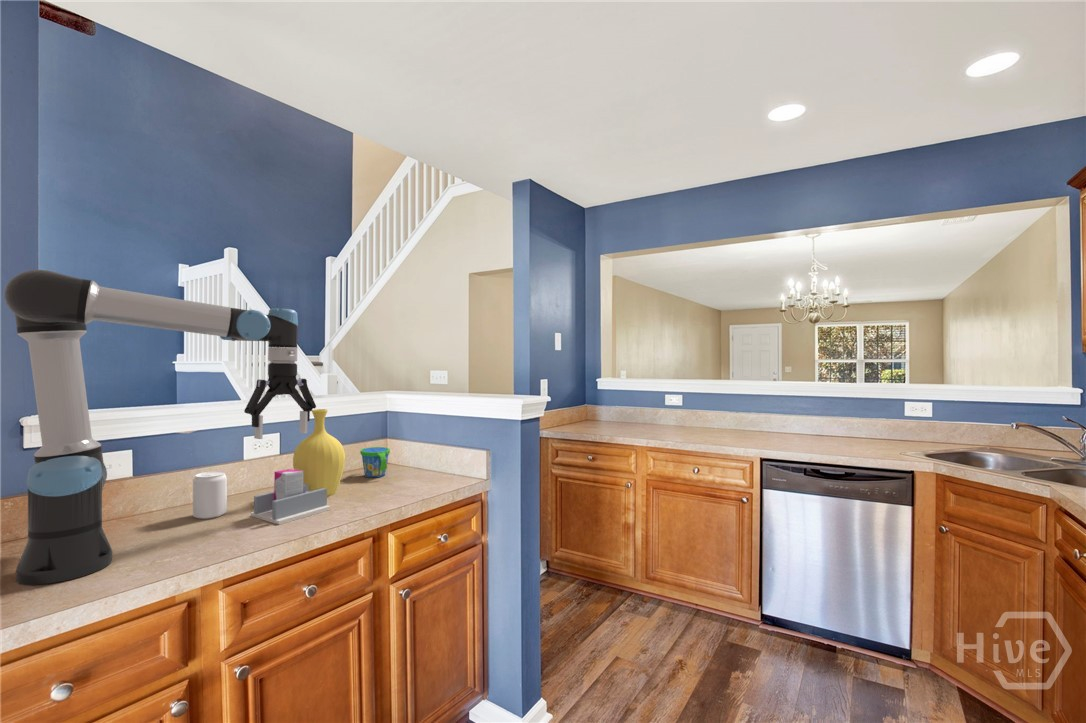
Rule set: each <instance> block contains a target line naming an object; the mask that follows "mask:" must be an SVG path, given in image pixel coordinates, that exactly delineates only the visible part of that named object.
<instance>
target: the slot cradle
mask: <svg viewBox="0 0 1086 723" xmlns="http://www.w3.org/2000/svg"><path fill="white" fill-rule="evenodd" d="M327 498H328V496H327V489H325V488H322V489H318V490H314V491H308V484H303V493H302V494H298V495H294V496H290V497H286V498H282V499H279V500H275V501H274V490H273V491H270V492H269V491H268V492H266V493H261V494H257V495H254V496H253V511H251V512H250V517H253V518H257V519H259V520H262V521H266V522H269V523H272V524H275V525H279V526H280V525H283V524H287V523H289V522H293V521H296V520H300V519H304V518H306V517H309V516H314V515H318V514H320V513H324V512H327V511H329V510H331V506H330V505H328V504H327V503H328V501H327V500H328V499H327Z"/></svg>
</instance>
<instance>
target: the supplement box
mask: <svg viewBox="0 0 1086 723" xmlns="http://www.w3.org/2000/svg"><path fill="white" fill-rule="evenodd" d="M273 476H274V478H273V479H274V483H273V485H274V488H273V489H274V490H273V491H274V501H275V500H279V499H282V498H286V497H290V496H294V495H298V494H302V493H303V471H301V470H296V469H294V468H289V469H288V468H287V469H284V470H282V469H281V470H277V471H274V475H273Z"/></svg>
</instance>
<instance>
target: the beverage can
mask: <svg viewBox="0 0 1086 723" xmlns="http://www.w3.org/2000/svg"><path fill="white" fill-rule="evenodd" d="M194 476H195V477H194V478H193V479H192V516H193V517H194V518H196V519H200V520H209V519H214V518H215V519H216V518H218V517H221V516H223V515H224V514H226V513H227V511H228V509H227V508H228V506H227V505H228V501H227V500H228V499H227V497H228V496H227V494H228V492H227V490H228V489H227V486H228V485H227V484H228V483H227V482H228V481H227V475H226V474H225V471H221V470H220V471H219V470H212V471H210V470H209V471H205V472H204V471H203V472H199V473H197V474H195V475H194Z"/></svg>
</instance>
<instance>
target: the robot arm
mask: <svg viewBox="0 0 1086 723" xmlns="http://www.w3.org/2000/svg"><path fill="white" fill-rule="evenodd" d="M3 293H4V300H5V303H6V305H7V307H8V308H9V309H10V310H11V311H12V313H13V314H14V319H15V326H16V332H17V333H16V334H17V336H19V337H21V338H23V339H24V340H25V341H27V344H28V350H29V355H30V356H29V358H30V364H31V366H30V367H31V374H32V380H33V388H34V395H35V402H36V411H37V416H38V417H37V418H38V424H39V432H40V439H41V447H40V448H39V449H38V450H37V451H36V452H34V453H33V456H34V457H33V458H34V464H33V466H31V467H30V468H29V470H28V471H27V472H28V473H27V478H26V479H25V480H26V482H25V483H26V484H25V485H26V487H27V542H26V544H25V547H24V550H23V552H22V554H21V556H20V559H19V561H18V563H17V566H16V568H15V580H16V583H18V584H22V585H29V586H30V585H32V586H33V585H47V584H48V585H49V584H54V583H59V582H65V581H69V580H74V579H78V578H82V577H83V576H87V575H90V574H93V573H95V572H98V571H101V570H103V569H104V568H107V566H109V565H110V564H111V563H112V562H113V549H112V547H111V544H110V542H109V541H108V540H109V539H108V538H107V536H106V533H105V532H104V529H103V489H104V486H105V484H106V482H107V478H108V469H107V467H106V464H105V463H104V457H103V448H102V443H101V442H99V441H97V440H95V439H94V438H93V437H92V428H91V421H90V413H89V406H88V404H89V403H88V398H87V397H88V396H87V390H86V381H85V374H84V365H83V358H82V350H81V343H80V339H81V338H82V337H83V336H84V335H85V334H87V332H88V330H87V325H88V324H89V323H92V322H94V321H96V322H97V321H99V322H105V323H113V324H119V325H120V324H121V325H129V326H137V327H145V328H153V329H160V330H161V329H162V330H168V331H169V330H170V331H177V332H184V333H185V332H186V333H194V334H202V335H208V336H210V335H211V336H215V337H216V336H217V337H219V338H220V339H221V340H223V341H232V342H235V341H236V342H237V341H238V342H239V341H240V342H241V341H245V342H267V343H268V352H267V354H268V356H267V360H268V362H269V363H268V364H267V376H268V378H267V380H266V379H257V380H256V385H255V388H254V390H253V392H252V395H251V396H250V399H249V401H248V402H247V404H246V406H245V408H244V413H245V414H248V415H250V416H251V427H252V428H254V434H253V436H254V437H253V439H257V440H263V429H264V428H263V427H264V426H263V424H264V419H263V418H264V416H263V415H261V414H262V412H263V411H264V410H265V409H266V407H268V405H269V404H270V402H271V401H272V400H273V399H274V398H275V397H276V396H283V395H289V396H290V397H292V399H293V400H294V401H295V402H296V404H297V405H298V406H299V407H300V408H301V410H300V411H299V433H300V434H308V422H310V419H311V416H310V415H311V412H312V410H314V409H316V408H317V405H316V403H315V400H314V397H313V395H312V393H311V391H310V389H309V387H308V380H307V379H306V378H303V377H302V378H301V377H300V378H297V375H298V364H297V361H298V338H299V336H298V334H299V333H298V330H299V320H298V319H299V318H298V312H297V311H296V310H295V309H290V308H276V307H275V308H270V309H269V310H268V313H267V314H265V313H264V312H262V311H259V310H257V309H242V308H241V309H240V308H235V307H229V306H223V305H219V304H211V303H204V302H199V301H192V300H186V299H179V298H173V297H167V296H161V295H155V294H148V293H143V292H142V293H141V292H136V291H130V290H124V289H117V288H113V287H111V288H110V287H106V286H100V285H99V284H98V283H97V282H96V281H95V280H90V279H85V278H78V277H75V276H70V275H68V274H67V275H66V274H63V273H59V272H55V271H51V270H47V269H33V270H27V271H23V272H20V273H18V274H17V275H15V276H14V277H12V278H11V279H10V280H8V283H6V286H5V289H4V292H3ZM297 386H298V388H299V390H298V389H297V388H296V387H297ZM267 387H268V389H267V390H266V388H267ZM265 390H266V392H265ZM299 391H300V392H299ZM264 392H265V394H264ZM263 394H264V395H263Z"/></svg>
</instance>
